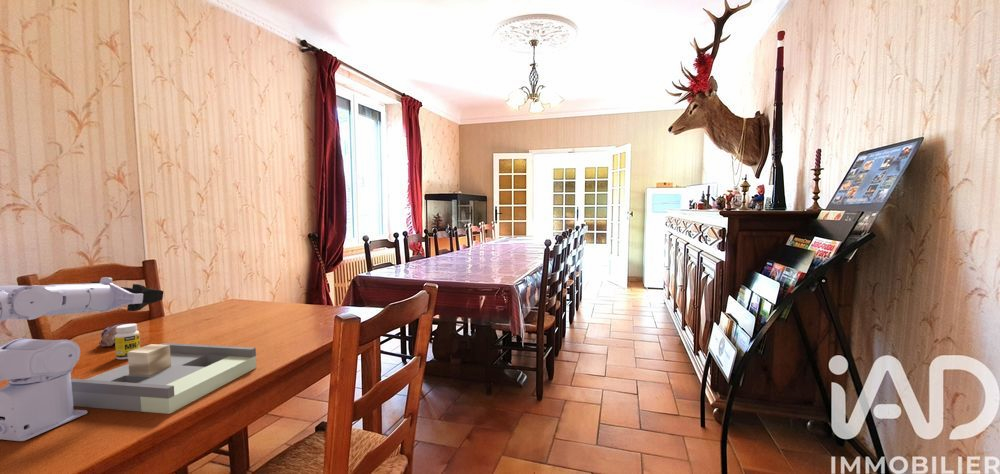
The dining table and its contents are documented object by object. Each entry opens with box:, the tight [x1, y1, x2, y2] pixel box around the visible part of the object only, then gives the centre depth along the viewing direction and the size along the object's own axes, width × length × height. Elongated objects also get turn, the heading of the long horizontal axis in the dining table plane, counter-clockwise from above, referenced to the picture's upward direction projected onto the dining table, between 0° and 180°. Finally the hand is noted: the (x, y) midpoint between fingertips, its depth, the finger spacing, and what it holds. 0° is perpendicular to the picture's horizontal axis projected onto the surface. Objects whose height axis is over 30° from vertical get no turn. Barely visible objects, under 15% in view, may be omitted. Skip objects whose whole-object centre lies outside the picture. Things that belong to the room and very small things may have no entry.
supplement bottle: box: [114, 323, 141, 360], centre depth 104 cm, size 5×5×8 cm
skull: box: [98, 323, 126, 347], centre depth 116 cm, size 12×8×6 cm, turn 40°
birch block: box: [127, 343, 171, 375], centre depth 88 cm, size 5×5×5 cm
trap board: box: [71, 342, 257, 415], centre depth 88 cm, size 22×26×5 cm
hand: (146, 294), depth 91 cm, fingers open, 7 cm apart
